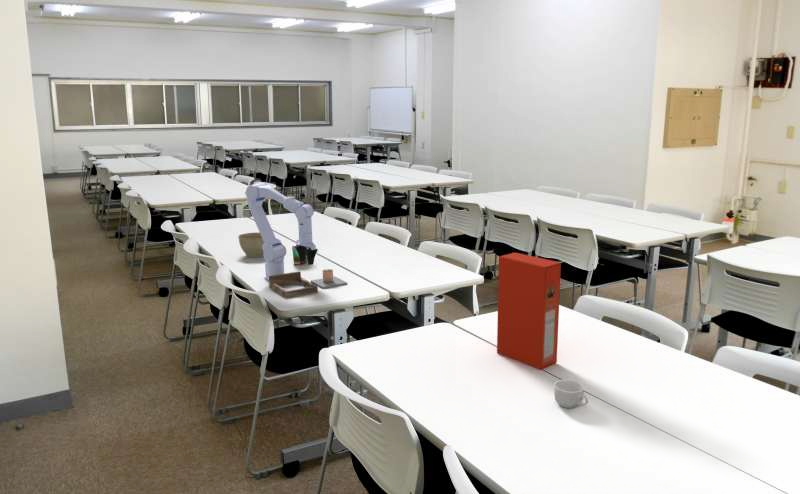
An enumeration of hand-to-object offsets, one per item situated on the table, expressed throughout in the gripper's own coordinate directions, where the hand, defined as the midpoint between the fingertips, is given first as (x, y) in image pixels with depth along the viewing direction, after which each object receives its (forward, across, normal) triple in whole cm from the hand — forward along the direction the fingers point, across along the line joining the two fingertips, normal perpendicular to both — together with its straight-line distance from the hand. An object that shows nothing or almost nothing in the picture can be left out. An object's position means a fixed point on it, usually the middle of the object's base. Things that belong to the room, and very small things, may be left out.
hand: (306, 262), depth 281 cm
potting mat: (+9, +5, +8) cm, 13 cm away
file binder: (+10, +116, +16) cm, 117 cm away
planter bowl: (+10, -63, +2) cm, 64 cm away
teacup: (+10, +145, +3) cm, 146 cm away
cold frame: (+9, +5, -9) cm, 14 cm away
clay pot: (+8, +5, +7) cm, 12 cm away
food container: (+10, -33, +15) cm, 38 cm away
